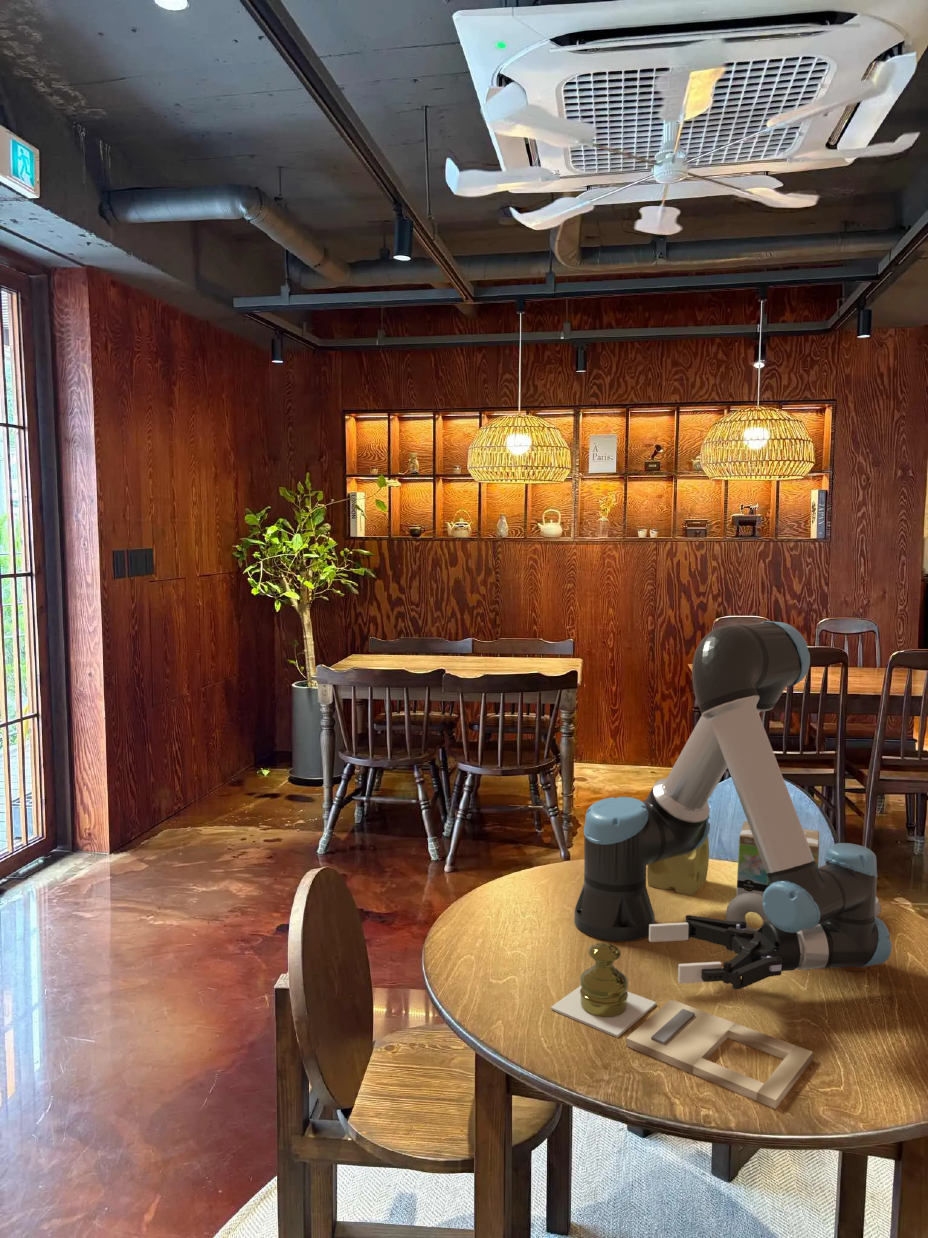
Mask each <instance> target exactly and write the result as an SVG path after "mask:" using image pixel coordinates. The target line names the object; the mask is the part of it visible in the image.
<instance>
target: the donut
mask: <svg viewBox="0 0 928 1238" xmlns="http://www.w3.org/2000/svg"><path fill="white" fill-rule="evenodd" d="M749 913H754V914H757V915H758V916H759V917H760V918H761V920H762V925H763V924H764V923H765V922H770V920H769V919H768V918H767V916H766V914H765V912H764V909H763V896H762V895H759V894H756V893H744V894H740V895H738V896H737V895H736V896H735V897H734V898H732V899H731V900H730V902H729V903H728V905H727V907H726V912H725V920H727V921H744V922H746V918H745V916H746V915H747V914H749ZM746 923H747V922H746ZM760 928H761V927H759V928H754V927H752V926H750V925H749V924H748V923H747V925H746V929H747V930H750V931H758V930H759V929H760Z"/></svg>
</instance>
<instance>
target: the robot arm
mask: <svg viewBox="0 0 928 1238" xmlns="http://www.w3.org/2000/svg"><path fill="white" fill-rule="evenodd" d="M810 654H811V653H810V652H809V648H808V643H807V641H806V639H805V638H804V636H803V635H802V633H801V632H799V630H798V629H797V628H795V627H794V626H792V625H791V624H789V623H786V622H781V621H771V620H766V621H765V620H764V621H761V622H755V623H753V622H752V623H744V624H743V623H742V624H727V625H722V626H719V627H716V628H715V629H713V630H711V631H710V632H708V633H707V634H706V635H705V636H704V637H703V638H702V639H701V640H700V641H699V644H698V646H697V647H696V648H695V652H694V655H693V659H692V665H691V675H692V677H691V678H692V685H693V686H692V687H693V692H694V693H693V694H694V696H695V699H696V703H697V707H698V708H699V711H700V715H701V716H700V717H699V719H698V721H697V722H696V725H695V726H694V728H693V730H692V732H691V733H690V735H689V738H688V739H687V741H686V743H685V744H684V746H683V749H682V750H681V752H680V754H679V756H678V757H677V759H676V761H675V763H674V764H673V767H672V768H671V770H670V772H669V774H668V775H667V777H666V778H664V777H663V778H661V779H658V780H657V781H656V782H655V783H654V784H653V786H652V788H651V789H650V792H649V794H648V795H647V797H646V799H645V800H643V801H642V800H640V799H638V798H635V797H630V796H629V797H628V796H618V797H614V796H612V797H606V798H602V799H600V800H598V801H595V802H594V803H592V804H591V805H590V806H589V807H588V808H587V810H586V813H585V821H584V827H583V836H584V840H583V842H584V846H583V848H584V852H583V853H584V856H583V857H584V860H583V861H584V867H583V868H584V870H583V873H584V874H583V875H584V876H583V878H584V879H583V884H582V888H581V890H580V893H579V896H578V899H577V902H576V904H575V909H574V924H575V925H574V926H576V928H577V929H578V930H579V931H580V932H582V933H584V934H585V935H587V936H589V937H592V938H596V939H600V940H604V941H612V942H631V941H632V942H633V941H637V940H640V939H641V940H642V939H644V938H646V937H648V941H649V942H650V943H655V942H656V943H658V942H660V943H661V942H674V941H675V942H676V941H687V942H688V941H689V940H691V938H692V939H696V940H700V941H703V942H708V943H711V944H715V945H720V946H721V947H722V946H723V947H725V949H726V950H727V951H731V952H733V953H734V954H736V955H735V956H734V957H732V958H731V959H730V960H728V961H727V960H723V961H722V962H723V963H722V962H721V961H708V962H704V961H703V962H689V963H678V964H677V966H678V967H677V971H678V972H677V982H678V983H679V984H693V983H694V984H695V983H712V982H723V983H724V984H727V985H728V984H729V985H731V988H732V989H734V990H736V991H738V990H741V989H743V988H746V987H748V986H752V985H754V984H755V983H758V982H761V981H763V980H765V979H767V978H770V977H777V976H781V975H782V972H789V971H790V972H791V971H795V970H796V969H797V970H799V971H801V970H805V971H810V970H815V969H816V970H817V969H834V968H836V969H837V968H838V967H864V966H868V967H869V966H876V965H881V964H884V963H886V962H887V961H888V960H889V958H890V956H891V952H892V940H891V939H890V935H891V934H890V932H889V929H888V927H887V925H886V924H885V923H884V921H883V920H882V919H881V918H880V917H875V902H876V897H877V883H878V878H879V877H878V876H879V875H878V870H877V867H878V865H877V855H876V854H875V852H873V851H872V850H871V849H870V848H868V847H865V846H863V845H860V844H854V843H850V842H838V843H833V844H831V845H829V846H828V848H827V849H826V854H825V857H824V861H825V864H824V865H821V866H818V868H817V865H816V863H815V860H814V858H813V855H812V852H811V850H810V847H809V845H808V842H807V839H806V837H805V834H804V831H803V829H804V828H803V826H802V824H801V821H800V819H799V816H798V813H797V810H796V808H795V806H794V802H793V800H792V798H791V796H790V792H789V789H788V787H787V785H786V782H785V780H784V777H783V774H782V771H781V769H780V766H779V763H778V761H777V757H776V755H775V753H774V750H773V747H772V745H771V742H770V740H769V737H768V734H767V732H766V729H765V727H764V724H763V722H762V718H761V716H760V713H761V712H766V711H771V710H772V709H774V707H775V705H776V704H777V702H778V701H779V699H780V697H781V696H782V694H783V692H784V691H785V689H786V688H789V687H793V686H795V685H797V684H799V683H800V682H802V680H803V679H804V678H805V677H806V675H807V674H808V672H809V670H810V666H811V655H810ZM727 769H728V773H729V775H730V777H731V780H732V783H733V785H734V789H735V791H736V793H737V797H738V798H739V799H738V800H739V803H740V805H741V807H742V811H743V813H744V816H745V818H746V821H747V822H748V824H749V827H750V829H751V832H752V835H753V838H754V840H755V843H756V846H757V849H758V851H759V854H760V857H761V859H762V862H763V865H764V868H765V870H766V873H767V876H768V879H769V882H770V886H768V887H767V888H766V890H765V891H764V894H763V909H764V912H765V914H766V916H767V918H768V919H769V920H770V922H765V923H764V924H763V923H762V924H761V926H760V927H759V928H760V929H759V930H758V931H750V930H747V929H746V925H747V924H748V923H747V922H744V921H727V920H726V919H719V918H710V917H705V916H699V915H691V914H688V915H685V921H684V922H670V923H666V922H665V923H655V922H656V920H655V919H656V916H655V912H654V909H653V905H652V901H651V900H650V895H649V892H648V888H647V865H648V864H651V863H655V862H658V861H661V860H664V859H668V858H671V857H675V856H680V855H685V854H687V853H690V852H691V851H693V850H695V849H697V848H698V847H700V846H701V845H702V844H703V843H704V842H705V840H706V838H707V836H708V837H709V834H710V831H711V823H709V820H710V812H711V811H710V809H711V808H710V806H709V803H708V801H709V799H710V798H711V796H712V794H713V793H714V791H715V789H716V787H718V784H719V783H720V781H721V780H722V777H723V775H724V774H725V772H726V771H727ZM722 964H723V966H722Z"/></svg>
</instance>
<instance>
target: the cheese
mask: <svg viewBox="0 0 928 1238" xmlns="http://www.w3.org/2000/svg"><path fill="white" fill-rule="evenodd" d="M709 860H710V843H709V835H708V836H707V838H706V840H705V842H704V843H703V844H702V845H701V846H700V847H698V848H697V849H695V850H693V851H691V852H690V853H687V854H685V855H680V856H675V857H671V858H668V859H664V860H661V861H658V862H655V863H651V864H648V865H647V866H646V879H647V886H648V887H652V888H657V889H662V890H675V891H676V892H677V893H679V894H683V895H687V896H691V897H694V896H695V894H696V892H697V891H698V890H699V889H700V888H701V887H702V885H704V883H706V881H707V875H708V870H709Z"/></svg>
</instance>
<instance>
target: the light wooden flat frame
mask: <svg viewBox="0 0 928 1238" xmlns="http://www.w3.org/2000/svg"><path fill="white" fill-rule="evenodd" d="M727 1039H729V1040H732V1041H735V1042H738V1043H740V1044H743V1045H745V1046H747V1047H750V1048H753V1049H756V1050H758V1051H761V1052H764V1053H767V1054H769V1055H772V1056H774V1057H777V1058H779V1059H782V1060H781V1062H780V1064H779V1065H778V1066H777V1067H776V1068H775V1070H774V1071H773V1072H772V1073H771V1074H770V1076H769V1077H768V1078H767V1080H765V1082H762V1081H760V1080H757V1079H755V1078H752V1077H749V1076H747V1075H745V1074H742V1073H740V1072H737V1071H735V1070H733V1069H730V1068H727V1067H725V1066H723V1065H720V1064H718V1063H715V1062H714V1061H713V1062H712V1061H710V1060H708V1059H709V1058H710V1057H711V1056H712V1055H713V1054H714V1052H716V1051H717V1050H718V1048H720V1047H721V1045H723V1043H724V1042H726V1040H727ZM625 1046H626V1047H628V1048H630V1049H631V1050H635V1051H637V1052H640V1053H642V1054H644V1055H647V1056H649V1057H652V1058H654V1059H657V1060H658V1061H661V1062H662V1063H663V1062H664V1063H665V1064H669V1065H671V1066H672V1067H673V1066H674V1067H675V1068H677V1069H680V1070H683V1071H685V1072H687V1073H689V1074H691V1075H694V1076H697V1077H699V1078H702V1079H703V1080H706V1081H708V1082H711V1083H713V1084H715V1085H719V1086H720V1087H723V1088H725V1089H727V1090H730V1091H732V1092H734V1093H737V1094H739V1095H741V1096H744V1097H745V1098H749V1099H751V1100H754V1101H755V1102H759V1103H761V1104H763V1105H766V1106H767V1107H770V1108H772V1109H775V1110H776V1109H777V1107H778V1106H779V1105H780V1104H781V1103H782V1102H783V1100H784V1098H785V1097H786V1096H787V1095H788V1093H789V1092H790V1090H791V1089H792V1088H793V1087H794V1085H795V1084H796V1083H797V1081H798V1080H799V1079H800V1077H801V1076H802V1074H803V1073H804V1072H805V1071H806V1069H807V1068H808V1067H809V1065H810V1064H811V1063H812V1061H813V1059H814V1055H813V1054H814V1052H813V1050H812V1051H811V1050H809V1049H806V1048H803V1047H800V1046H798V1045H795V1044H793V1043H791V1042H790V1043H789V1042H787V1041H784V1040H782V1039H779V1038H776V1037H774V1036H771V1035H768V1034H765V1033H763V1032H761V1031H758V1030H755V1029H752V1028H750V1027H748V1026H744V1025H741V1024H739V1023H736V1022H734V1021H731V1020H728V1019H725V1018H723V1017H720V1016H717V1015H714V1014H712V1013H709V1012H707V1011H703V1010H701V1009H698V1008H695V1007H693V1006H690V1005H688V1004H685V1003H682V1002H680V1001H677V1000H674V999H671V998H670V999H669V1000H668V1001H667V1002H666V1003H665V1004H663V1006H661V1007H660V1008H658V1010H657V1011H655V1013H653V1014H652V1015H651V1016H649V1018H647V1020H645V1021H644V1022H642V1024H640V1025H639V1026H638V1027H637V1028H636V1029H635V1030H634V1031H632V1032H631V1033H630V1034H629V1035H627V1036H626V1037H625Z"/></svg>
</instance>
